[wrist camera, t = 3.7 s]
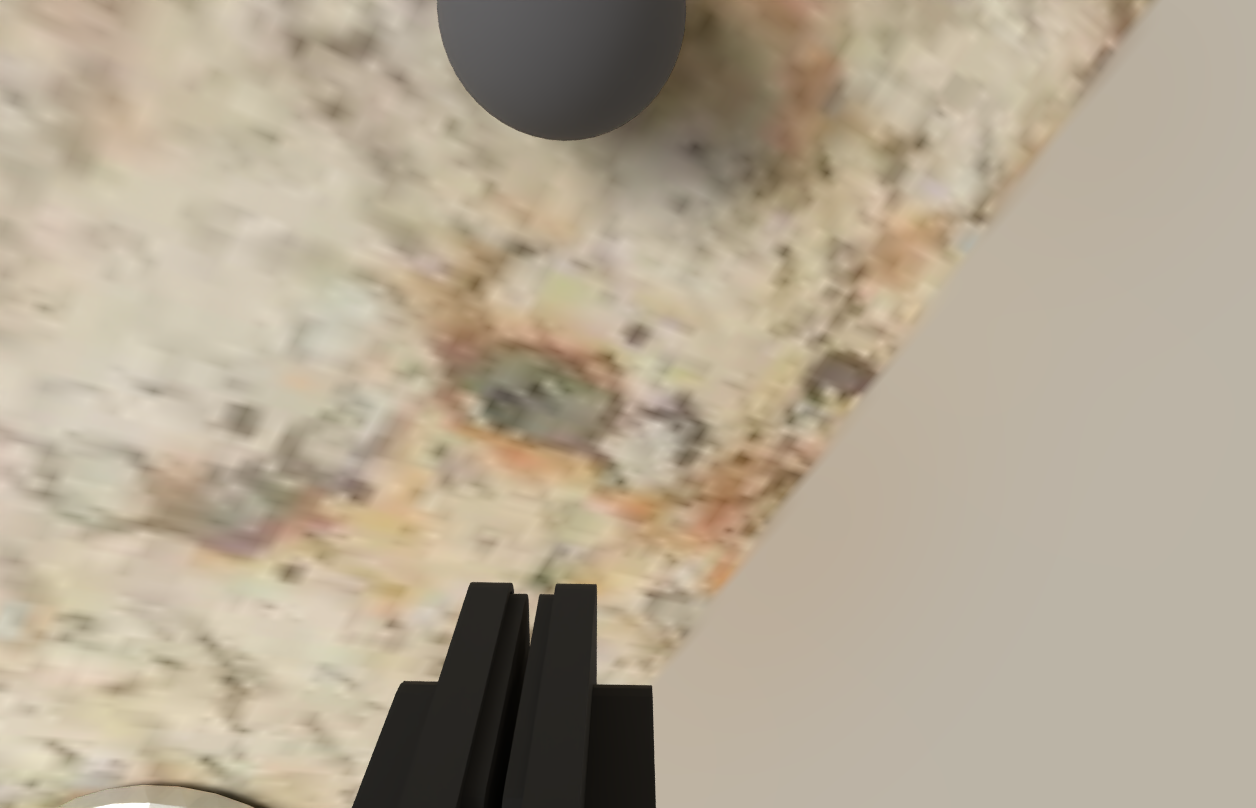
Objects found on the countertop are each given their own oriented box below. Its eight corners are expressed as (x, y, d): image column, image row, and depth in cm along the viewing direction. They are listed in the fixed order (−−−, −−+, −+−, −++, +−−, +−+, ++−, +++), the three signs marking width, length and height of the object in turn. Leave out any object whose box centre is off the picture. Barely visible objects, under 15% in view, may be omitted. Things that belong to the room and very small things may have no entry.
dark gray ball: (675, 136, 24) (690, 149, 18) (464, 133, 24) (420, 145, 18) (682, -100, 22) (701, -160, 17) (454, -104, 22) (402, -166, 17)
